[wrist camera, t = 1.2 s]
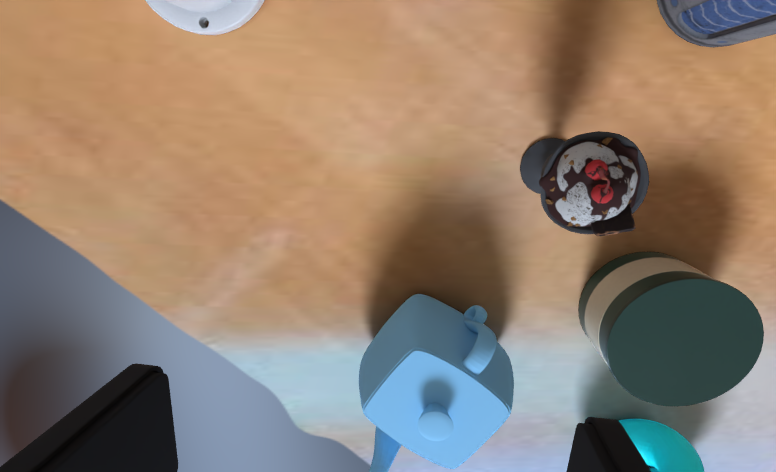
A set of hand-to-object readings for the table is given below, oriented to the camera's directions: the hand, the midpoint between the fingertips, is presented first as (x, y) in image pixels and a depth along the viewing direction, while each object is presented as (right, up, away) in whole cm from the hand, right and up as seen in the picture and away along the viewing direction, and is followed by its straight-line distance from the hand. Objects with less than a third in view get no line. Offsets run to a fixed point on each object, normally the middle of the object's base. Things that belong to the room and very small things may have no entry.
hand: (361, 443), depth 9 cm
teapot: (+5, -8, +33) cm, 34 cm away
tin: (+25, -2, +29) cm, 38 cm away
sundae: (+15, +11, +26) cm, 32 cm away
